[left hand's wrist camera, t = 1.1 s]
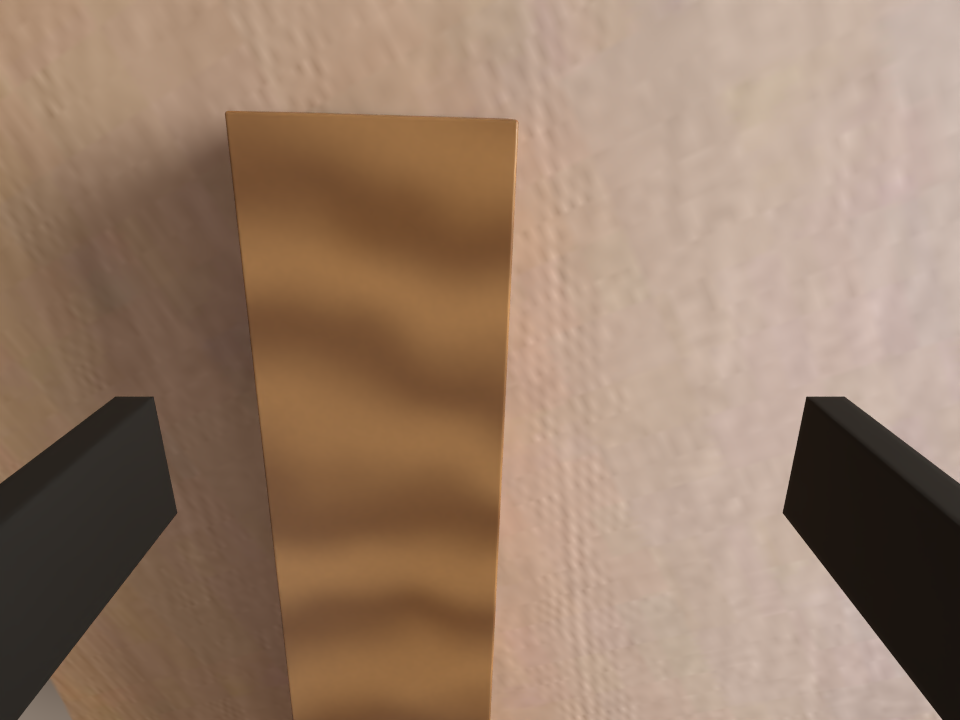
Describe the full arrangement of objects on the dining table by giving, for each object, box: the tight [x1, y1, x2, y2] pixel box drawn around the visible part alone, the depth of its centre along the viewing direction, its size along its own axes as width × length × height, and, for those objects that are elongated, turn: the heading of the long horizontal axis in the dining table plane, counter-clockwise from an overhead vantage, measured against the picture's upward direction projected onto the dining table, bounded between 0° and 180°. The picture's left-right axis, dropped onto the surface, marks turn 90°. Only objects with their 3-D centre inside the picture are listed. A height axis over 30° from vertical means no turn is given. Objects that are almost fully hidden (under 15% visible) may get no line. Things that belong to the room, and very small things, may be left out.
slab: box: [225, 111, 518, 720], centre depth 32 cm, size 52×9×7 cm, turn 178°
